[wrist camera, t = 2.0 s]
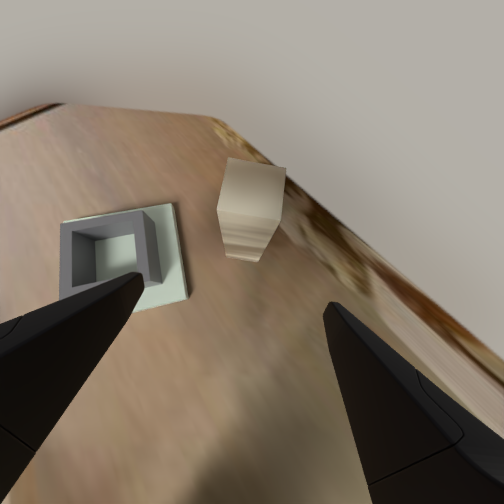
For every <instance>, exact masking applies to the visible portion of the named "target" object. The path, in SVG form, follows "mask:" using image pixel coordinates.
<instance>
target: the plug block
mask: <svg viewBox="0 0 504 504" xmlns="http://www.w3.org/2000/svg"><path fill="white" fill-rule="evenodd" d="M285 175H286V168H283V167H277V166H272V165H266V164H261V163H256V162H250V161H245V160H239V159H234V158H229V157H228V161H227V165H226V170H225V174H224V179H223V183H222V188H221V192H220V197H219V201H218V206H217V214H218V219H219V224H220V229H221V234H222V239H223V244H224V248H225V253H226V257H227V258H233V259H240V260H246V261H252V262H258V261H259V259H260V257H261V255H262V254H263V252H264V250H265V248H266V246H267V245H268V243H269V241H270V239H271V237H272V236H273V234H274V232H275V230H276V229H277V227H278V225H279V223H280V221H281V214H282V204H283V195H284V185H285Z"/></svg>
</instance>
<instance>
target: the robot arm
mask: <svg viewBox="0 0 504 504" xmlns="http://www.w3.org/2000/svg"><path fill="white" fill-rule="evenodd" d="M144 289H145V285H144V279H143V274H142V273H140V272H129V273H127V274H124V275H122V276H119V277H117V278H114V279H112V280H109V281H107V282H104V283H102V284H99V285H97V286H94V287H92V288H89V289H87V290H84V291H82V292H79V293H77V294H74V295H72V296H69V297H67V298H64V299H62V300H59V301H57V302H54V303H52V304H49V305H47V306H44V307H42V308H39V309H37V310H34V311H32V312H29V313H27V314H25V315H24V316H19V317H17V318H14V319H12V320H9V321H7V322H4V323H1V324H0V504H1V503H2V501H3V500H4V499H5V497H6V496H7V494H8V493H9V491H10V490H11V488H12V487H13V486H14V484H15V483H16V481H17V480H18V478H19V477H20V475H21V474H22V473H23V471H24V470H25V468H26V467H27V465H28V464H29V462H30V461H31V460H32V458H33V457H34V455H35V454H36V451H37V450H38V449H39V448H40V446H41V445H42V443H43V442H44V440H45V439H46V438H47V436H48V435H49V433H50V432H51V430H52V429H53V428H54V426H55V425H56V423H57V422H58V420H59V419H60V417H61V416H62V415H63V413H64V412H65V410H66V409H67V407H68V406H69V404H70V403H71V402H72V400H73V399H74V397H75V396H76V394H77V393H78V391H79V390H80V389H81V387H82V386H83V384H84V383H85V381H86V380H87V378H88V377H89V376H90V374H91V373H92V371H93V370H94V368H95V367H96V365H97V364H98V363H99V361H100V360H101V358H102V357H103V355H104V354H105V352H106V351H107V350H108V348H109V347H110V345H111V344H112V342H113V341H114V339H115V338H116V337H117V335H118V334H119V332H120V331H121V329H122V328H123V326H124V325H125V324H126V322H127V320H128V319H129V317H130V315H131V313H132V312H133V310H134V308H135V306H136V304H137V303H138V301H139V299H140V297H141V295H142V293H143V292H144ZM323 320H324V326H325V332H326V337H327V343H328V348H329V352H330V355H331V359H332V362H333V366H334V370H335V373H336V377H337V380H338V384H339V387H340V391H341V394H342V398H343V401H344V405H345V408H346V412H347V415H348V419H349V422H350V426H351V429H352V433H353V436H354V440H355V443H356V447H357V450H358V454H359V457H360V461H361V464H362V468H363V471H364V475H365V479H366V482H367V485H368V490H369V493H370V497H371V500H372V504H504V439H503V438H502V437H500V436H499V435H498V434H496V433H495V432H494V431H493V430H491V429H490V428H489V427H488V426H486V425H485V424H484V423H482V422H481V421H480V420H479V419H477V418H476V417H475V416H473V415H472V414H471V413H470V412H468V411H467V410H466V409H465V408H463V407H462V406H461V405H460V404H458V403H457V402H456V401H455V400H453V399H452V398H451V397H450V396H448V395H447V394H446V393H445V392H443V391H442V390H441V389H440V388H439V387H437V386H436V385H435V384H434V383H433V382H431V381H430V380H429V379H428V378H427V377H425V376H424V375H423V374H422V373H421V372H420V371H418V370H417V369H415V367H414V366H412V365H411V364H410V363H409V362H408V361H407V360H405V359H404V358H403V357H402V356H401V355H400V354H398V353H397V352H396V351H395V350H394V349H393V348H391V347H390V346H389V345H388V344H387V343H385V342H384V341H383V340H382V339H381V338H380V337H378V336H377V335H376V334H375V333H374V332H373V331H371V330H370V329H369V328H368V327H367V326H366V325H364V324H363V323H362V322H361V321H360V320H359V319H357V318H356V317H355V316H354V315H353V314H351V313H350V312H349V311H348V310H347V309H346V308H344V307H343V306H342V305H341V304H340V303H338V302H329V303H328V305H327V307H326V309H325V311H324V313H323Z"/></svg>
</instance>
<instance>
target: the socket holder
mask: <svg viewBox="0 0 504 504" xmlns="http://www.w3.org/2000/svg"><path fill="white" fill-rule="evenodd" d="M129 272H140V273H142V274H143V279H144V285H145V289H144V292H143V293H142V295H141V297H140V299H139V301H138V303H137V304H136V306H135V308H134V310H133V312H132V313H135V312H139V311H143V310H147V309H151V308H155V307H159V306H163V305H167V304H171V303H175V302H179V301H183V300H187V299H189V297H188V291H187V285H186V278H185V272H184V266H183V260H182V254H181V247H180V241H179V235H178V229H177V222H176V216H175V210H174V207H173V205H172V204H171V203H169V204H163V205H157V206H151V207H145V208H139V209H133V210H127V211H121V212H116V213H110V214H104V215H98V216H92V217H86V218H80V219H74V220H68V221H64V223H62V224H60V278H59V300H62V299H64V298H67V297H69V296H72V295H74V294H77V293H79V292H82V291H84V290H87V289H89V288H92V287H94V286H97V285H99V284H102V283H104V282H107V281H109V280H112V279H114V278H117V277H119V276H122V275H124V274H127V273H129Z"/></svg>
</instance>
